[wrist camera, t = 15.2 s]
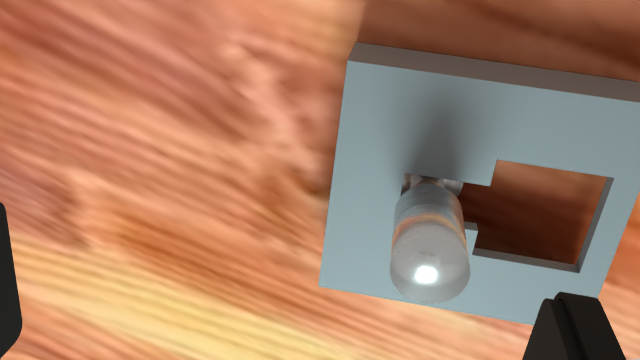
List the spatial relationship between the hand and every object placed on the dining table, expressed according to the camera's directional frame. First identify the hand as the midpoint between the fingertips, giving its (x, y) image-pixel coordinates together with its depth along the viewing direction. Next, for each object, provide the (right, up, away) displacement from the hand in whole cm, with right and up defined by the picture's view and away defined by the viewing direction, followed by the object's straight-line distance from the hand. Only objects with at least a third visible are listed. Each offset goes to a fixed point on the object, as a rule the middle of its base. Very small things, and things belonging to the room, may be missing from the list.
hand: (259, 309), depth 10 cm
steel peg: (+9, +3, +31) cm, 32 cm away
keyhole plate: (+11, +3, +31) cm, 33 cm away
